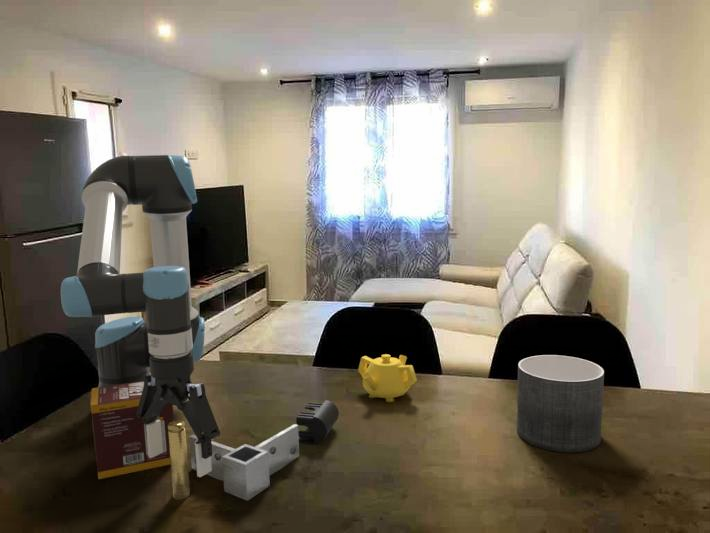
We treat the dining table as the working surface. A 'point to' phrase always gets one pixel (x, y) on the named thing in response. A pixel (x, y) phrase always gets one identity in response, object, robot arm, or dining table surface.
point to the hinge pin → (179, 459)
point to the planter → (560, 403)
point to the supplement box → (125, 431)
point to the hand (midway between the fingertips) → (179, 464)
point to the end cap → (317, 422)
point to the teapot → (386, 376)
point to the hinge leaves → (250, 462)
